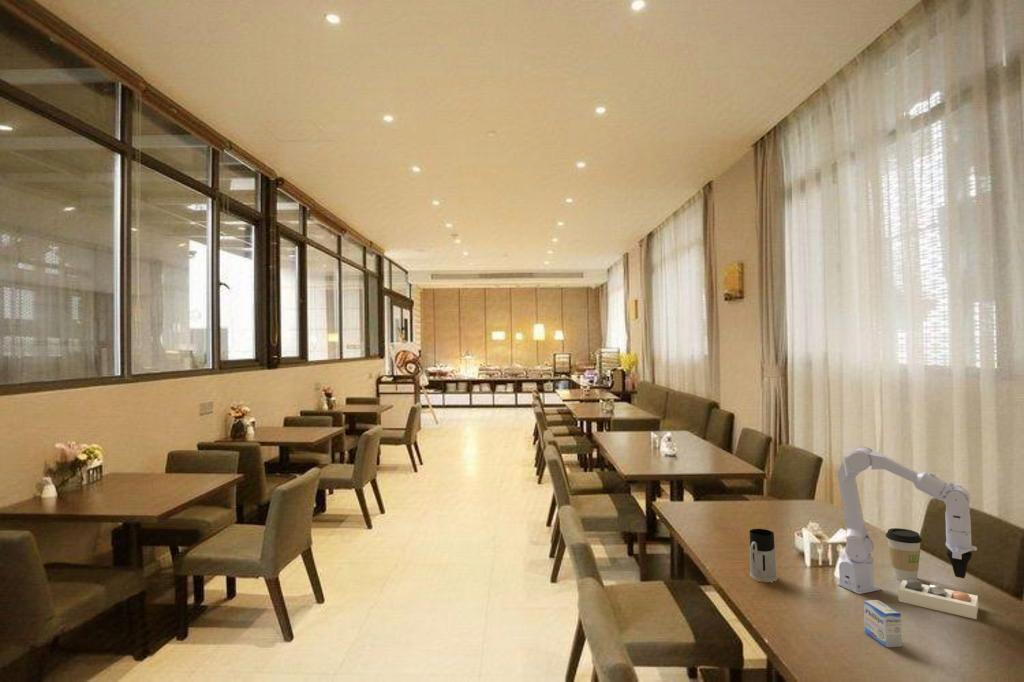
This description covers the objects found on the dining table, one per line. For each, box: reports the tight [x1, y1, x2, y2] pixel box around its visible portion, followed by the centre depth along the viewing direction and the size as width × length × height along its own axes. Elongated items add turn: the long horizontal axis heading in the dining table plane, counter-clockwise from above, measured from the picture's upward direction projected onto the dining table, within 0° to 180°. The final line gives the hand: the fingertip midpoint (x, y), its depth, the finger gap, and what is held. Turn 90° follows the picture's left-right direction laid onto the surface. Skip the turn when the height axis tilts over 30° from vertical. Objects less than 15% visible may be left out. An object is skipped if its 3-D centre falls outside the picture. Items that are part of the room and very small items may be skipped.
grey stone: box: [907, 578, 923, 592], centre depth 169 cm, size 4×4×3 cm
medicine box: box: [863, 599, 903, 649], centre depth 147 cm, size 8×4×9 cm, turn 5°
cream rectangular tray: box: [897, 580, 979, 620], centre depth 165 cm, size 18×9×4 cm, turn 48°
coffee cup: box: [885, 527, 923, 582], centre depth 184 cm, size 10×10×15 cm
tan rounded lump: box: [953, 590, 969, 602], centre depth 161 cm, size 4×4×3 cm
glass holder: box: [749, 528, 778, 583], centre depth 186 cm, size 9×14×15 cm, turn 137°
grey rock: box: [929, 582, 946, 597], centre depth 165 cm, size 4×4×3 cm
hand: (960, 576), depth 162 cm, fingers closed
